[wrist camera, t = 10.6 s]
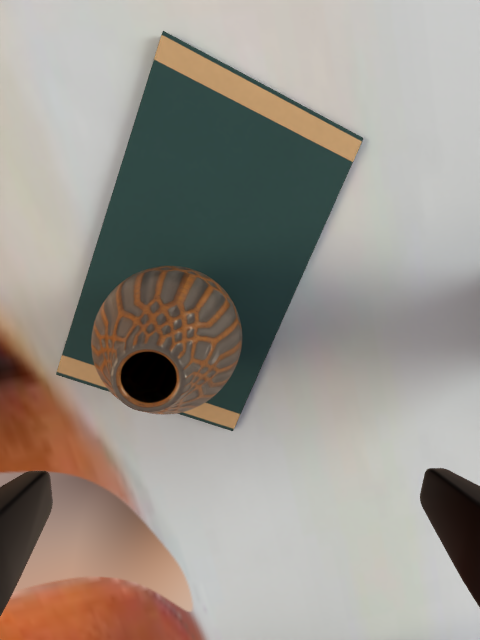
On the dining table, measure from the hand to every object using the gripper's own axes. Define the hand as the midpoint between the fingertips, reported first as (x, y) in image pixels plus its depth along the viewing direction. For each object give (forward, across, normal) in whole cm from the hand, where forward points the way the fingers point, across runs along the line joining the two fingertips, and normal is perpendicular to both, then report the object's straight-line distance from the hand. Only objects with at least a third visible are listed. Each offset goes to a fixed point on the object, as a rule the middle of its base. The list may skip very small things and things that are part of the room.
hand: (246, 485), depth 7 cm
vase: (+12, +3, -1) cm, 12 cm away
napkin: (+12, +2, -5) cm, 13 cm away
